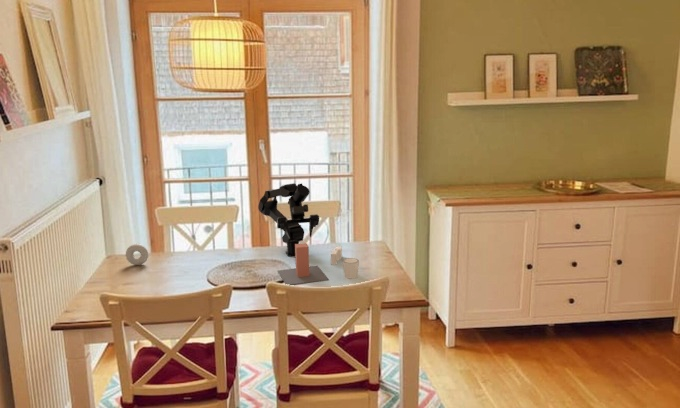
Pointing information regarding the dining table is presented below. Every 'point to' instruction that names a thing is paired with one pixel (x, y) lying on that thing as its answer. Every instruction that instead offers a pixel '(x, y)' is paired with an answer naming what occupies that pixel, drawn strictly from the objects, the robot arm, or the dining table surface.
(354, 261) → the shot glass
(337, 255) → the napkin holder
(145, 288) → the dining table surface
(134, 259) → the donut
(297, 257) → the card box
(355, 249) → the dining table surface
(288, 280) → the mat
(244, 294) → the dining table surface
